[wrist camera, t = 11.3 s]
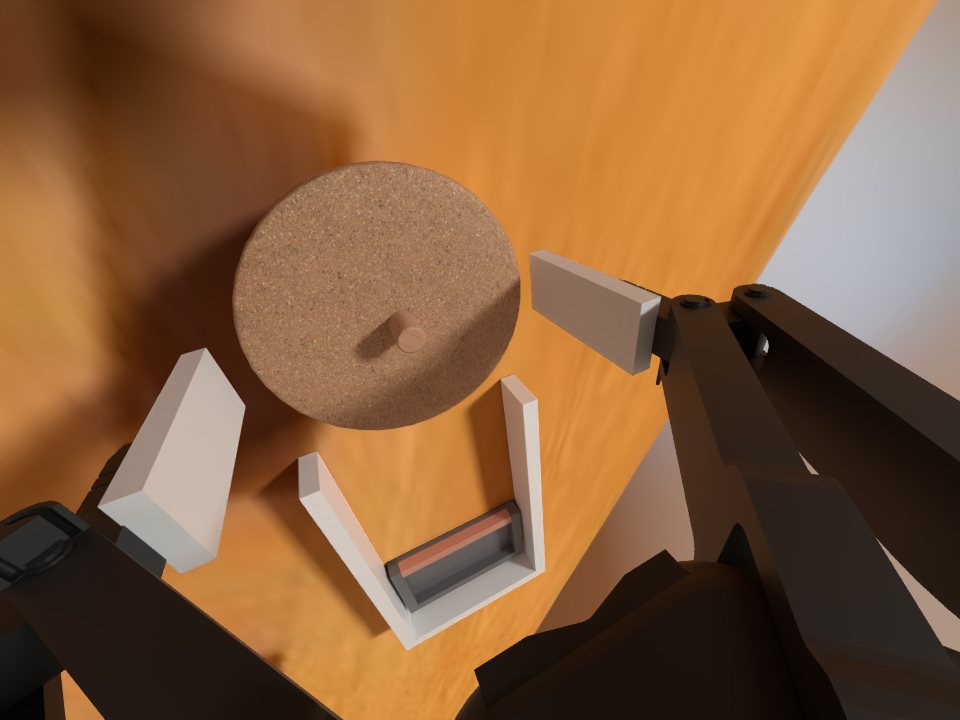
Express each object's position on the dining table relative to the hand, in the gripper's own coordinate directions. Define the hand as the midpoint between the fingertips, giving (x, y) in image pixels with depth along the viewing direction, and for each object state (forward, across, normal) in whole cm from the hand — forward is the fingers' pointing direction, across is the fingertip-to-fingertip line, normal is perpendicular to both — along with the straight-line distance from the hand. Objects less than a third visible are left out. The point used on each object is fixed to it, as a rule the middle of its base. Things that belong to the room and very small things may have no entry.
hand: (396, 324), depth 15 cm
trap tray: (+7, 0, -30) cm, 31 cm away
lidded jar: (+7, 0, +1) cm, 7 cm away
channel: (+7, 0, -23) cm, 24 cm away
